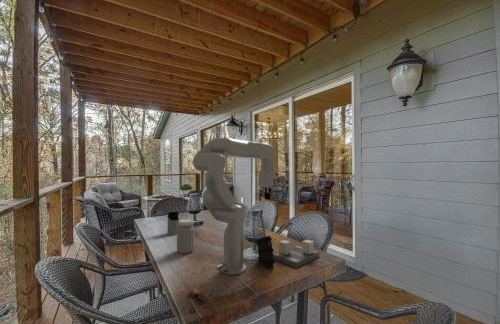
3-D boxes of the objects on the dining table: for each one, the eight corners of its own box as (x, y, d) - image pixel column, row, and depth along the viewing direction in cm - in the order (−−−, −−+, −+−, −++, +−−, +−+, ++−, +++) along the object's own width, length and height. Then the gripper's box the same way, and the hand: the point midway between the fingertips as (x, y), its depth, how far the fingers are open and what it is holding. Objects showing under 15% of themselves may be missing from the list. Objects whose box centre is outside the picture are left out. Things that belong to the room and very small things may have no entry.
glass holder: (166, 232, 184) (166, 212, 184) (185, 230, 190) (185, 210, 190) (167, 235, 176) (167, 214, 176) (187, 233, 182) (188, 213, 182)
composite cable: (205, 304, 91) (205, 298, 92) (192, 308, 89) (192, 301, 89) (198, 292, 100) (198, 286, 100) (186, 295, 98) (186, 288, 98)
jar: (189, 255, 140) (190, 223, 140) (173, 253, 141) (174, 222, 142) (196, 249, 149) (197, 219, 149) (181, 247, 151) (182, 218, 151)
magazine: (271, 268, 119) (264, 236, 124) (259, 270, 129) (253, 241, 135) (277, 267, 120) (271, 235, 126) (265, 269, 131) (260, 240, 137)
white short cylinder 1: (285, 254, 133) (285, 243, 133) (278, 252, 136) (279, 241, 136) (290, 252, 136) (290, 241, 136) (284, 250, 140) (284, 239, 140)
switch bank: (296, 267, 124) (296, 262, 124) (273, 259, 134) (273, 254, 134) (319, 256, 139) (319, 251, 139) (296, 249, 150) (296, 245, 150)
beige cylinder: (309, 254, 134) (309, 243, 134) (302, 252, 137) (302, 241, 137) (314, 252, 137) (314, 241, 137) (306, 250, 141) (307, 239, 141)
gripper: (253, 167, 146) (253, 198, 146) (273, 167, 135) (273, 201, 135) (262, 167, 151) (262, 197, 151) (281, 167, 141) (281, 200, 140)
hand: (267, 199), depth 143 cm, fingers closed
